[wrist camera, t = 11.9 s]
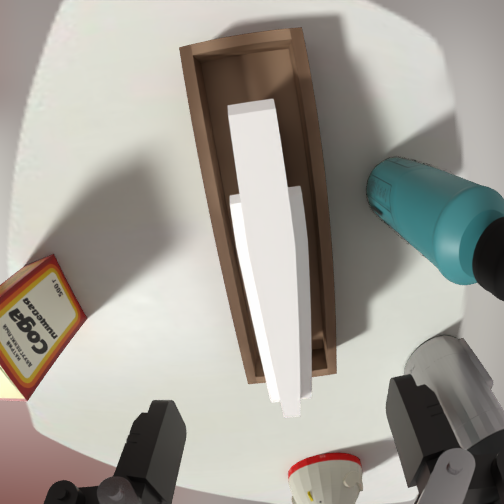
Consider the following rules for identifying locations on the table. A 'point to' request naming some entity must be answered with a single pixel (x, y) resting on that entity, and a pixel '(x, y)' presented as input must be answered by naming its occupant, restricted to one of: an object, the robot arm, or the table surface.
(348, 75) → the table surface
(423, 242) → the beverage bottle
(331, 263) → the trough
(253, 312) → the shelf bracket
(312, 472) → the kitchen timer
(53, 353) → the baking soda box
